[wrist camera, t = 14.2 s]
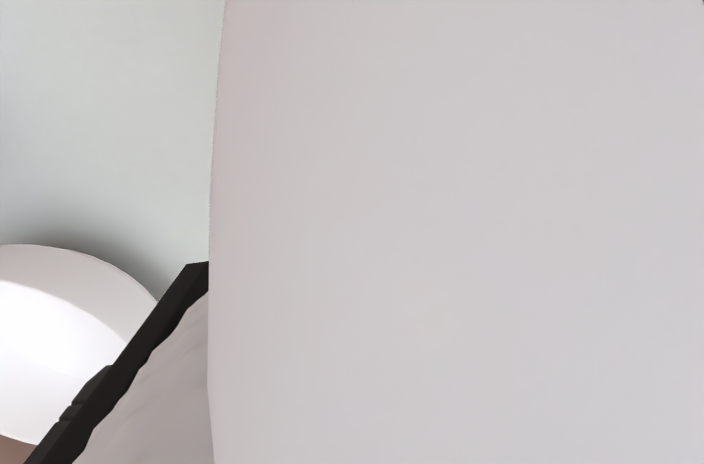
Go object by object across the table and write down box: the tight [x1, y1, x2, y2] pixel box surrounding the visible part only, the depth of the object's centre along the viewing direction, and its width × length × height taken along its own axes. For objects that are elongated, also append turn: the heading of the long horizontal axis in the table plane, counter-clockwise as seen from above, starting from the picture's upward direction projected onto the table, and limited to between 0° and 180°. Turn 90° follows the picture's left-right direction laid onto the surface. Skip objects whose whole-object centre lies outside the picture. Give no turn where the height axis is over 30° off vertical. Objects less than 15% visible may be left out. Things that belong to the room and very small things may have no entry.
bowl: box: [0, 244, 158, 445], centre depth 33 cm, size 20×20×8 cm
